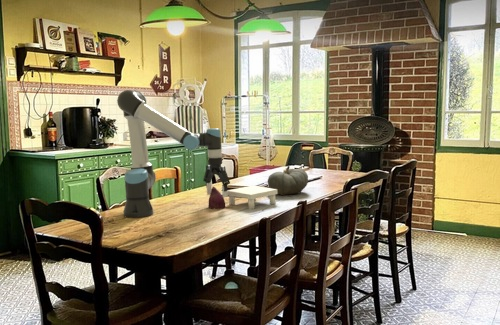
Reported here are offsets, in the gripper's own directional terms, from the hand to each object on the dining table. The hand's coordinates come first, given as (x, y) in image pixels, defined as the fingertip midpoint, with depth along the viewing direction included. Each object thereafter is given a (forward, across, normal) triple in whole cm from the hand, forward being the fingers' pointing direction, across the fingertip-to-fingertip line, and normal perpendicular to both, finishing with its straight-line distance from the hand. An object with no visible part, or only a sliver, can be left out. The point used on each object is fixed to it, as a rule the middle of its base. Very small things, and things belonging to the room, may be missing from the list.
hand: (217, 195), depth 266 cm
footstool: (+7, -9, -18) cm, 21 cm away
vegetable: (+7, 0, 0) cm, 7 cm away
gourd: (+7, -2, -54) cm, 54 cm away
